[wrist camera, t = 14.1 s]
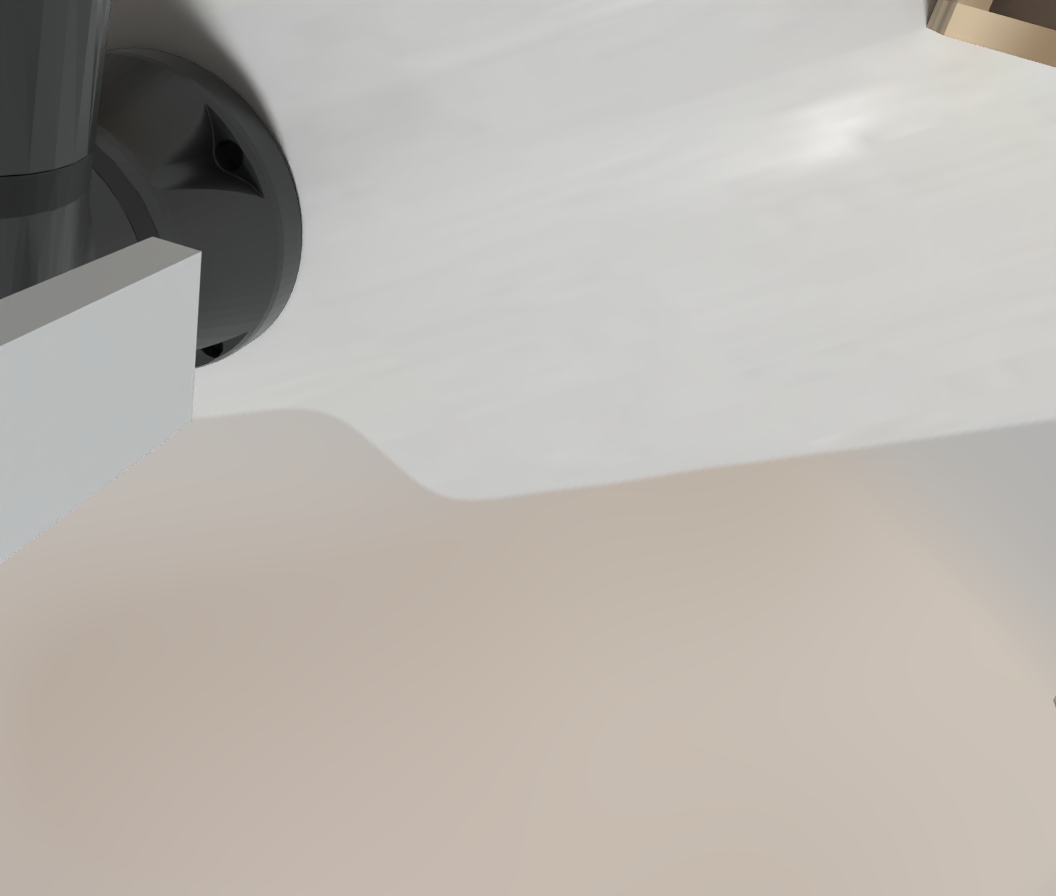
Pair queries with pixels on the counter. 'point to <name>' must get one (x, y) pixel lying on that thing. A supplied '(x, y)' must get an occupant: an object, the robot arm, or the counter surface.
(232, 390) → the counter surface
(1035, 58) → the frame
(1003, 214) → the counter surface
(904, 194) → the counter surface
